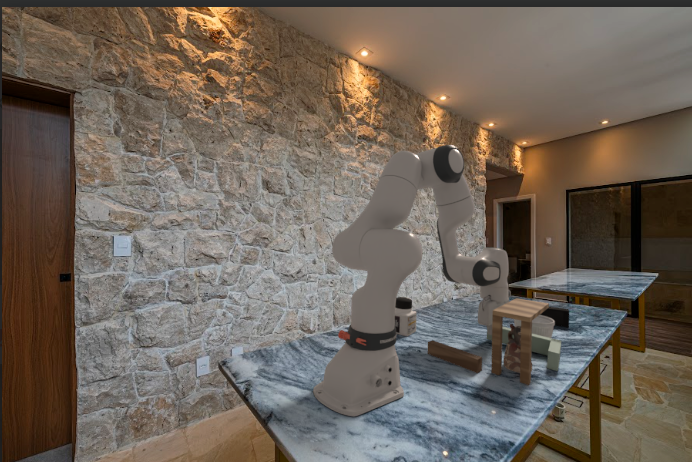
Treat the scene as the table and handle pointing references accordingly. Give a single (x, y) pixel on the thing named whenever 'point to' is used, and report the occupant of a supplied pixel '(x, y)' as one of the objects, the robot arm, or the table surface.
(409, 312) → the container
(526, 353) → the shelf
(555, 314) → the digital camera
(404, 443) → the table surface
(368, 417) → the table surface
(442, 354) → the stick
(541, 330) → the ramekin
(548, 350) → the sage green l-bracket
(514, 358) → the figurine
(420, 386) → the table surface
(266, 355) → the table surface
